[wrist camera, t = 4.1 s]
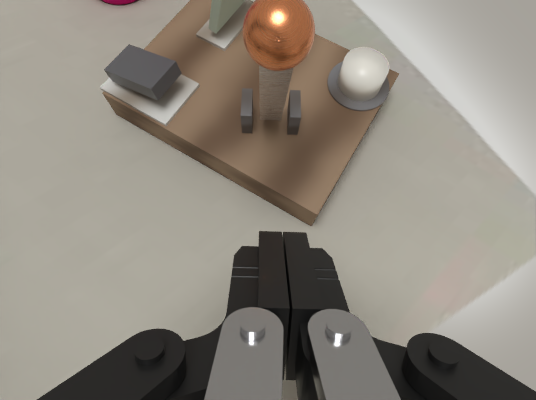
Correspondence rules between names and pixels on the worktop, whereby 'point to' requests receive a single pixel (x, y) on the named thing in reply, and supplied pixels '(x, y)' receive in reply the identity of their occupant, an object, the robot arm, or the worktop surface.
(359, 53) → the button
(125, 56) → the block
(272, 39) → the toggle lever
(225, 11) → the sign panel on base
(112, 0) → the pepper mill
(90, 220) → the worktop surface
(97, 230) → the worktop surface
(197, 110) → the console
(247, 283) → the robot arm
